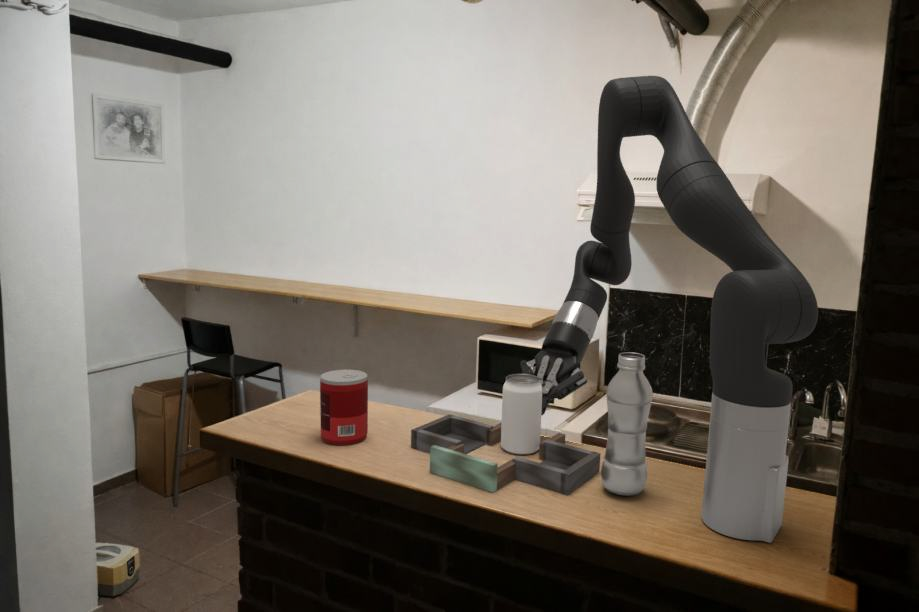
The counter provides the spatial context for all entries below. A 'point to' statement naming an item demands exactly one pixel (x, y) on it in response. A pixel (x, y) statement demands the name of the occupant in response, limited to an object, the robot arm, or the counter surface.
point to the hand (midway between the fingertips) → (533, 414)
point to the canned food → (344, 406)
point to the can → (521, 414)
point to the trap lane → (462, 436)
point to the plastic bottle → (627, 427)
